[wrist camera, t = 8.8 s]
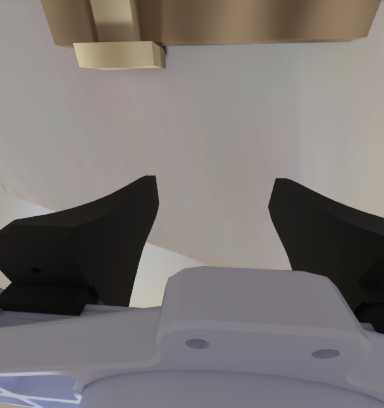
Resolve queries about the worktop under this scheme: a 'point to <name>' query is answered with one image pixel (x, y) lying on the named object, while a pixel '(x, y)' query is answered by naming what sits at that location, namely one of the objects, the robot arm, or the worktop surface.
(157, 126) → the worktop surface
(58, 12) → the board
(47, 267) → the robot arm
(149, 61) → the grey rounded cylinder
